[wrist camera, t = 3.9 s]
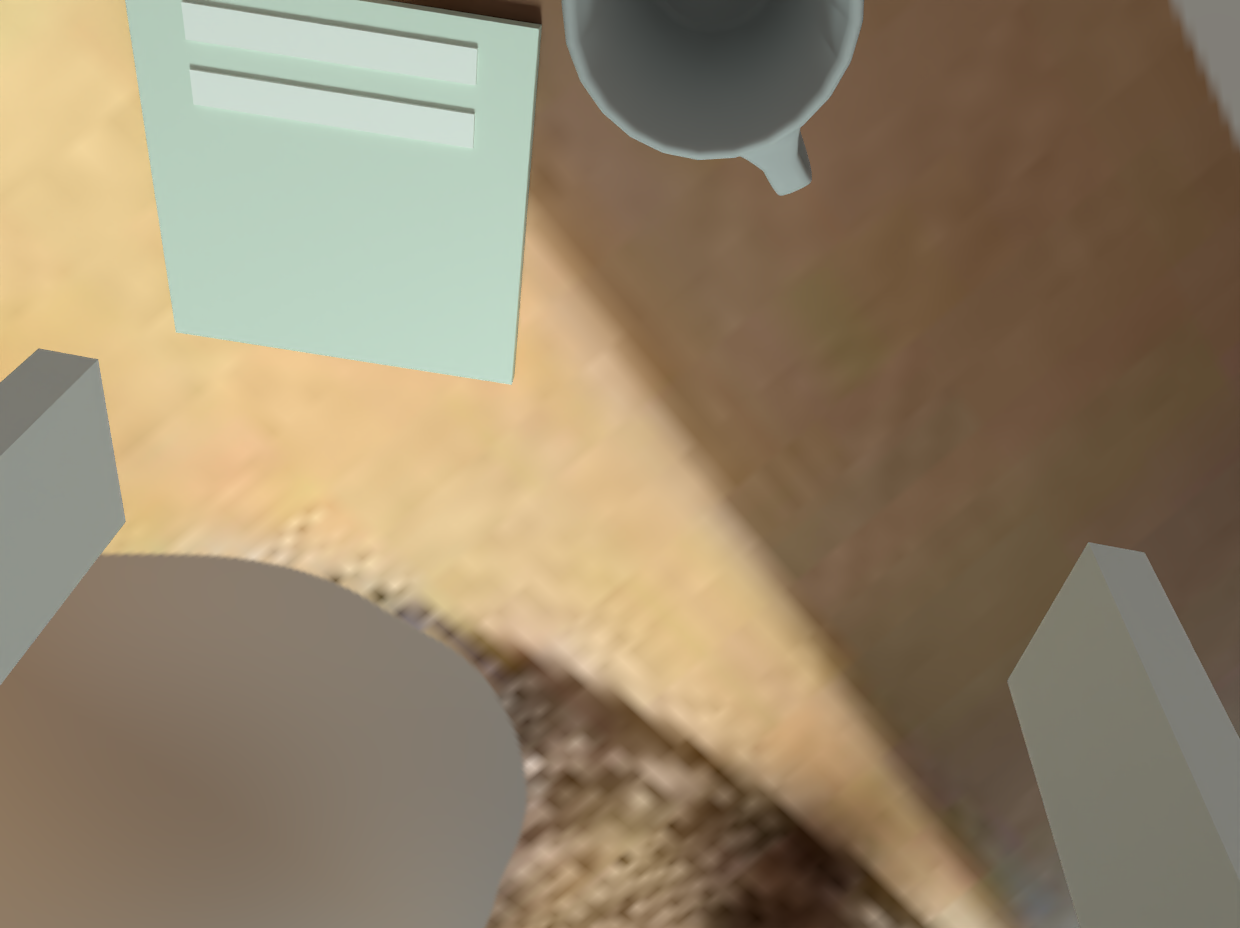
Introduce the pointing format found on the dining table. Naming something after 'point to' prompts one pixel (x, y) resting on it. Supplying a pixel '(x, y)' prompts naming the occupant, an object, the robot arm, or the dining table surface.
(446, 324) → the pad green
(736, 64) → the cup
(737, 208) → the dining table surface
